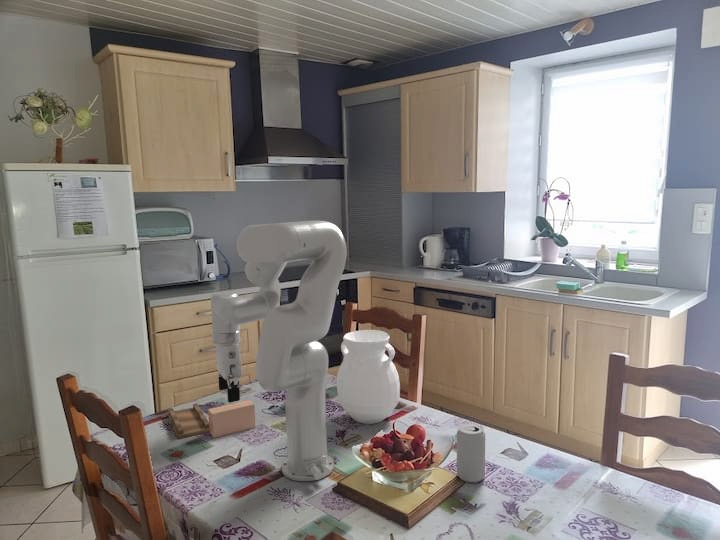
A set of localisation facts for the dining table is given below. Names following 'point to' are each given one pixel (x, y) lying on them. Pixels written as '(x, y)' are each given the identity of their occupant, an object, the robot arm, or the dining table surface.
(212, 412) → the block
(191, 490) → the dining table surface
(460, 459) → the beverage can
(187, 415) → the rack
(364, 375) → the white vase
